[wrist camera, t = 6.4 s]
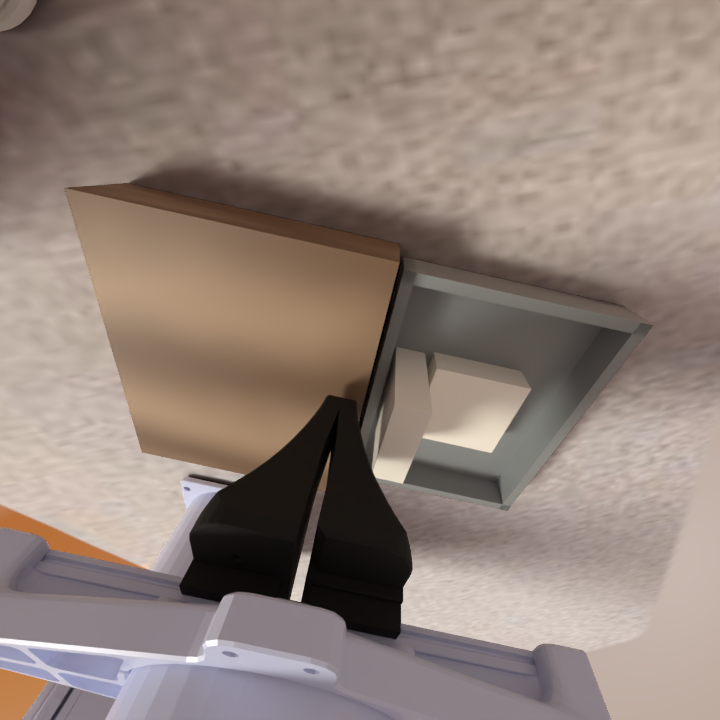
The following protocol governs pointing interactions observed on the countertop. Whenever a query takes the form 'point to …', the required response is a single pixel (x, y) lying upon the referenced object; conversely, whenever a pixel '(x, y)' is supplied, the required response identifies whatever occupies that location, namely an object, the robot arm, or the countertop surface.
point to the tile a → (401, 415)
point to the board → (230, 319)
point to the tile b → (472, 401)
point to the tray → (505, 349)
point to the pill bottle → (14, 12)
